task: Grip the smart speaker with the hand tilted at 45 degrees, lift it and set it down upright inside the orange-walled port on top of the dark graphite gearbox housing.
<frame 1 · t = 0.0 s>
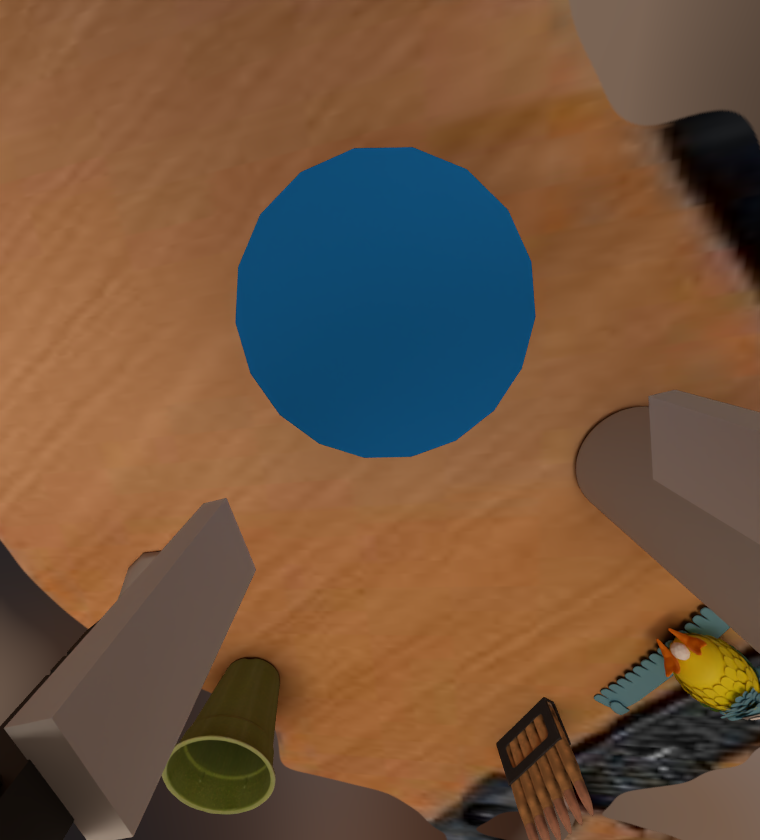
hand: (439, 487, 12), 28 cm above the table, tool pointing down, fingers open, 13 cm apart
thermos: (379, 313, 37), on the table
cylinder vase: (627, 458, 42), on the table
ammunition clip: (523, 721, 53), on the table
flask: (163, 573, 46), on the table
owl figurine: (684, 641, 50), on the table
plant pot: (252, 675, 50), on the table
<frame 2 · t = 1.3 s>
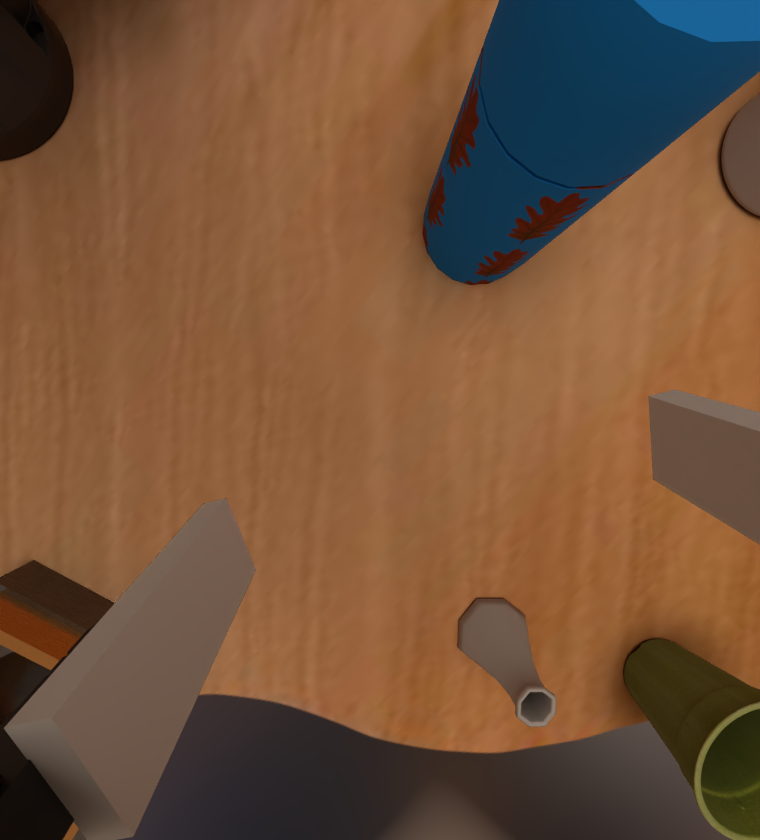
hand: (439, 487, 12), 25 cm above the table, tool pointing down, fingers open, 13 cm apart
thermos: (475, 231, 37), on the table
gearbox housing: (74, 681, 36), on the table
flask: (489, 628, 39), on the table
plant pot: (651, 669, 40), on the table
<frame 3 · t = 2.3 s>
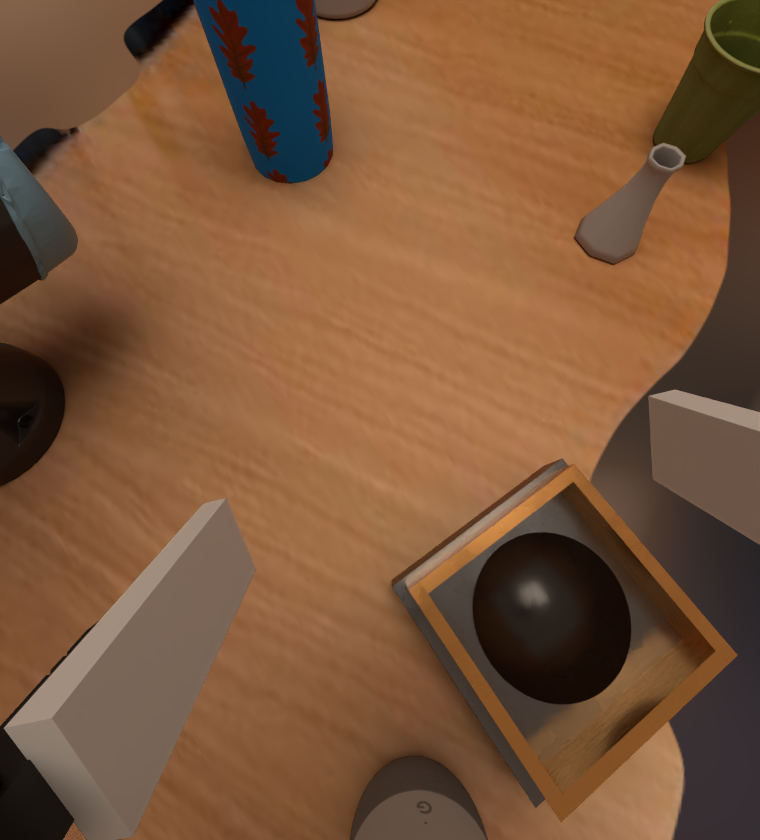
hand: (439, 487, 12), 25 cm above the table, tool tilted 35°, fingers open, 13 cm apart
smart speaker: (414, 811, 29), on the table
thermos: (293, 153, 49), on the table
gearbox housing: (531, 603, 33), on the table
flask: (605, 239, 44), on the table
plant pot: (680, 145, 48), on the table
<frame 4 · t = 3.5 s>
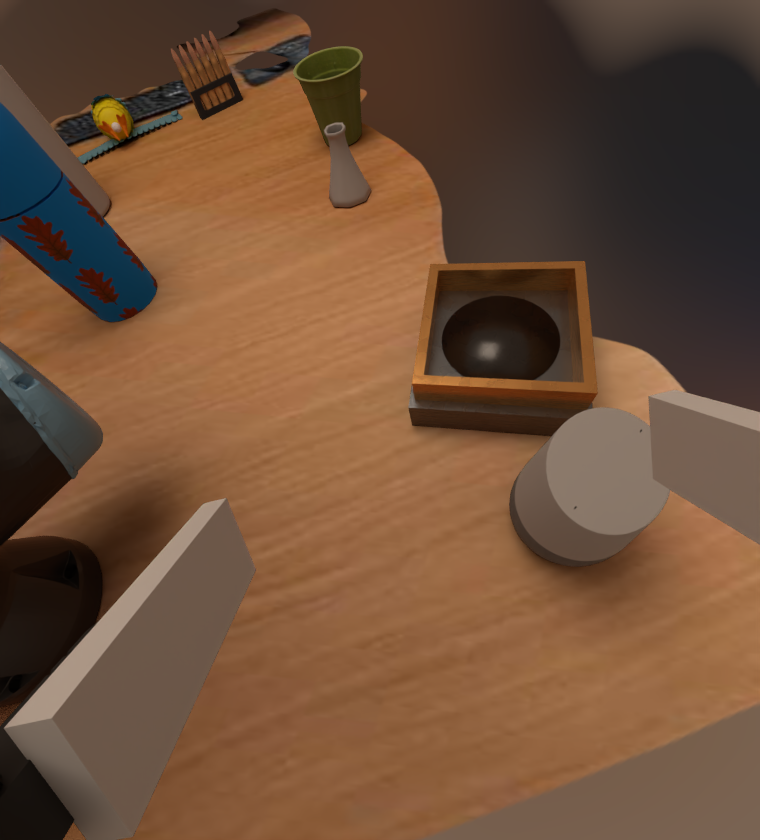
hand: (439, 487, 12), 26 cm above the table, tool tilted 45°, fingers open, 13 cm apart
smart speaker: (557, 517, 35), on the table
thermos: (127, 297, 61), on the table
cylinder vase: (83, 216, 76), on the table
ammunition clip: (222, 109, 88), on the table
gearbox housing: (495, 361, 43), on the table
flask: (350, 196, 63), on the table
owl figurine: (128, 141, 90), on the table
plant pot: (344, 139, 72), on the table
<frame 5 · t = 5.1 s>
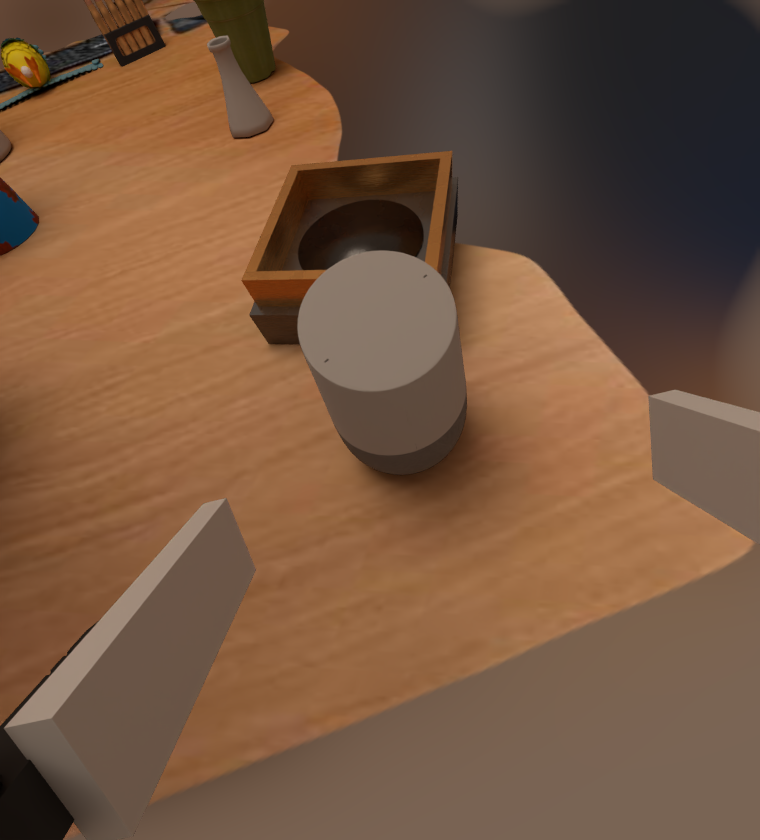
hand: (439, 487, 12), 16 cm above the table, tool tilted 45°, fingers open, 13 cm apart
smart speaker: (405, 430, 30), on the table
thermos: (7, 235, 56), on the table
ammunition clip: (143, 56, 83), on the table
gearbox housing: (367, 275, 39), on the table
flask: (253, 128, 59), on the table
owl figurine: (46, 91, 85), on the table
plant pot: (258, 75, 68), on the table
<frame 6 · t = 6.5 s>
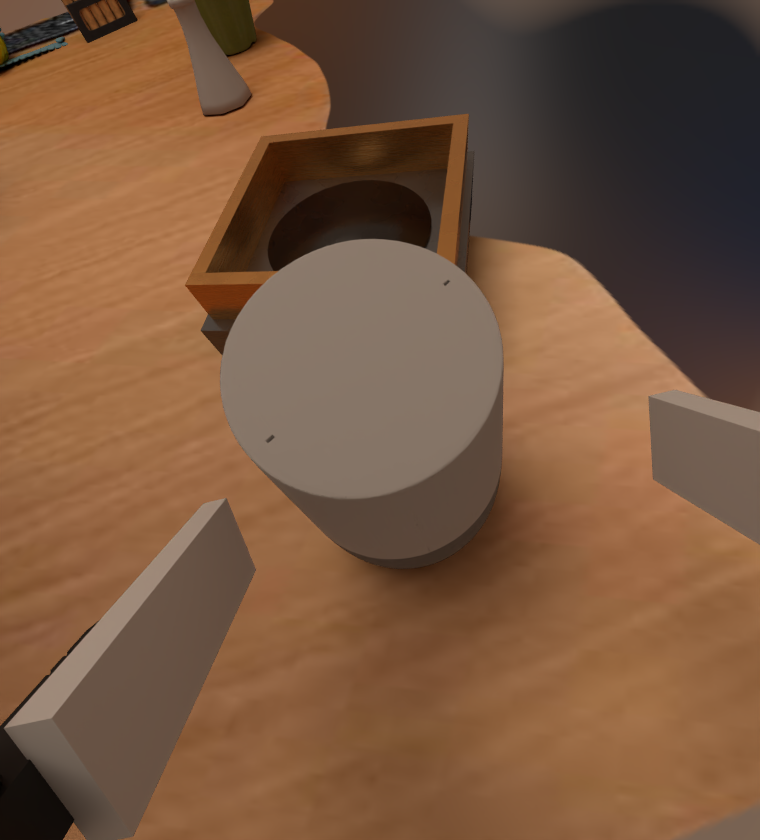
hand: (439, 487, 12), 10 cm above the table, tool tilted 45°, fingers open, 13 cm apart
smart speaker: (409, 490, 22), on the table
ammunition clip: (112, 32, 74), on the table
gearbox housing: (359, 277, 31), on the table
flask: (227, 104, 50), on the table
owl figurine: (5, 72, 76), on the table
plant pot: (237, 47, 59), on the table
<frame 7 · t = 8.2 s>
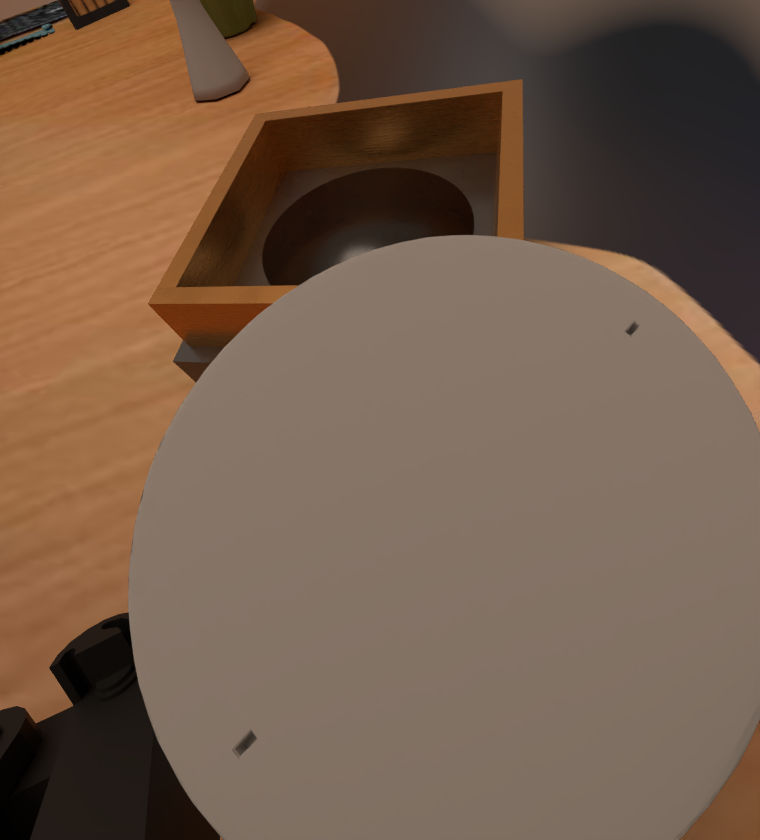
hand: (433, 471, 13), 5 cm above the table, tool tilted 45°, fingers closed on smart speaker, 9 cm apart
smart speaker: (457, 584, 16), on the table, touching gripper
ammunition clip: (103, 18, 69), on the table
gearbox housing: (377, 289, 25), on the table
flask: (223, 89, 45), on the table
plant pot: (235, 30, 54), on the table
when the fingers open (11 cm above the table, at t = 14.5 s): smart speaker drops 1 cm, resting on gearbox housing.
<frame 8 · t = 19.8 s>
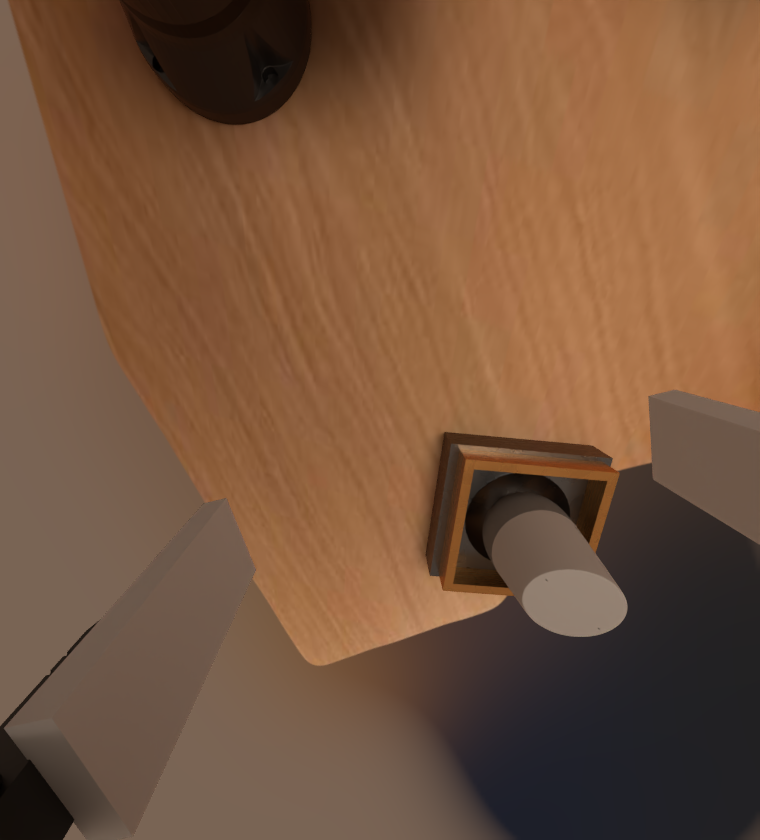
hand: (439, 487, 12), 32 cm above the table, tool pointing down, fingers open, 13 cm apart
smart speaker: (516, 520, 43), point 4 cm above the table, touching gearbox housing
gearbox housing: (505, 502, 47), on the table
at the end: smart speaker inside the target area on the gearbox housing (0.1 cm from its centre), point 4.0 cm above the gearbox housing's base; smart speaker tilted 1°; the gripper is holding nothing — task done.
